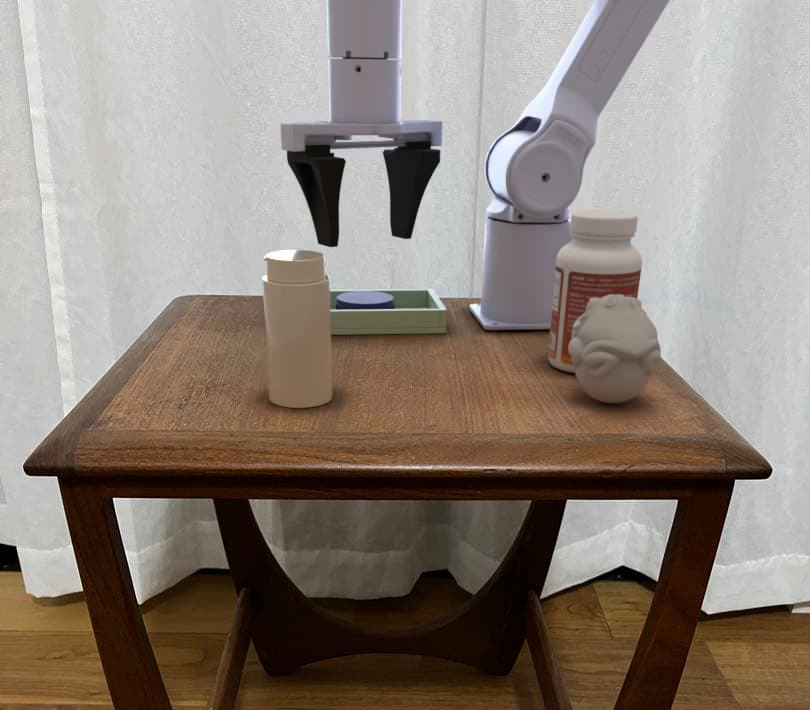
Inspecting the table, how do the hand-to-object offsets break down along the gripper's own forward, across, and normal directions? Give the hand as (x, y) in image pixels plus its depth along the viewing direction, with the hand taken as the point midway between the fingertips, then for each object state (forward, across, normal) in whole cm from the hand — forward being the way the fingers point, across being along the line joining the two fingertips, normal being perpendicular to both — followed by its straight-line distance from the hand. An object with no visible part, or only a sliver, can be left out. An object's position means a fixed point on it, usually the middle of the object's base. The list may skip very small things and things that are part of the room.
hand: (365, 241), depth 75 cm
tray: (+7, 0, 0) cm, 7 cm away
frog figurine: (+7, +2, -26) cm, 28 cm away
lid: (+5, 0, 0) cm, 5 cm away
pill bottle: (+7, +7, -20) cm, 22 cm away
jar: (+7, -15, -14) cm, 22 cm away
